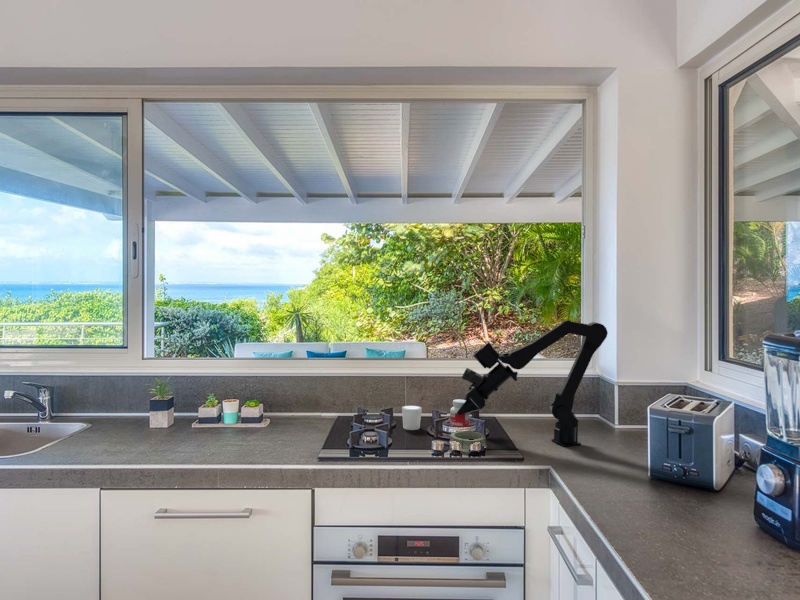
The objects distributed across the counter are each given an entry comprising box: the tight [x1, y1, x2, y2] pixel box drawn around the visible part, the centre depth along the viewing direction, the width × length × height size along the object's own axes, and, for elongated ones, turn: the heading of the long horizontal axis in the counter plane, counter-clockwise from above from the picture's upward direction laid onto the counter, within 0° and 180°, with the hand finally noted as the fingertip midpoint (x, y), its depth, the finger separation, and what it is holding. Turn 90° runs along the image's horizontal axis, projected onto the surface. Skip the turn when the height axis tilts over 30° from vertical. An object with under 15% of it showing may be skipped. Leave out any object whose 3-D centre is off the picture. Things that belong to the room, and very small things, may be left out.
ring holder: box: [449, 430, 487, 452], centre depth 148 cm, size 11×11×4 cm
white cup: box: [401, 404, 423, 431], centre depth 169 cm, size 7×7×7 cm
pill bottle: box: [449, 398, 470, 427], centre depth 162 cm, size 6×6×11 cm
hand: (459, 410), depth 162 cm, fingers open, 9 cm apart
